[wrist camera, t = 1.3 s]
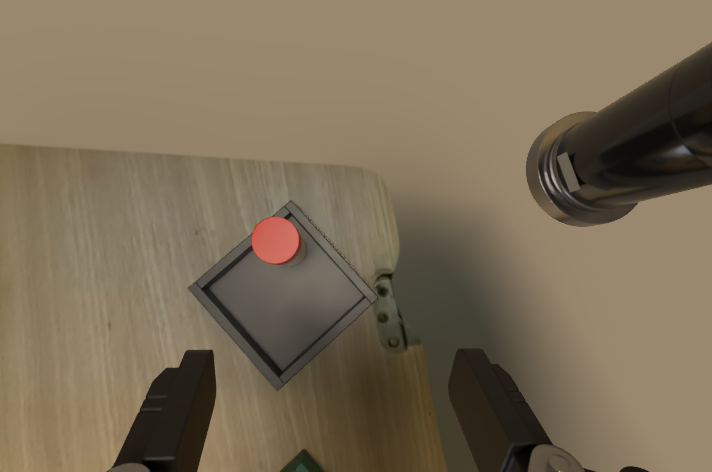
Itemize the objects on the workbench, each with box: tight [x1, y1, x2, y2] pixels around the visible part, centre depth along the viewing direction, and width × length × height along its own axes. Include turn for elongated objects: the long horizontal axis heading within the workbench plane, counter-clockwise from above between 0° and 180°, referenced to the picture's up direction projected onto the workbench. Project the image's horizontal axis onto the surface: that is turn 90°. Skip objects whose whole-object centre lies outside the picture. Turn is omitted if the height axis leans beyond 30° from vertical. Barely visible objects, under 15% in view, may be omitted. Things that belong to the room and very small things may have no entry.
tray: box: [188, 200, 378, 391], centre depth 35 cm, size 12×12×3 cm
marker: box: [251, 217, 307, 266], centre depth 31 cm, size 3×3×10 cm
